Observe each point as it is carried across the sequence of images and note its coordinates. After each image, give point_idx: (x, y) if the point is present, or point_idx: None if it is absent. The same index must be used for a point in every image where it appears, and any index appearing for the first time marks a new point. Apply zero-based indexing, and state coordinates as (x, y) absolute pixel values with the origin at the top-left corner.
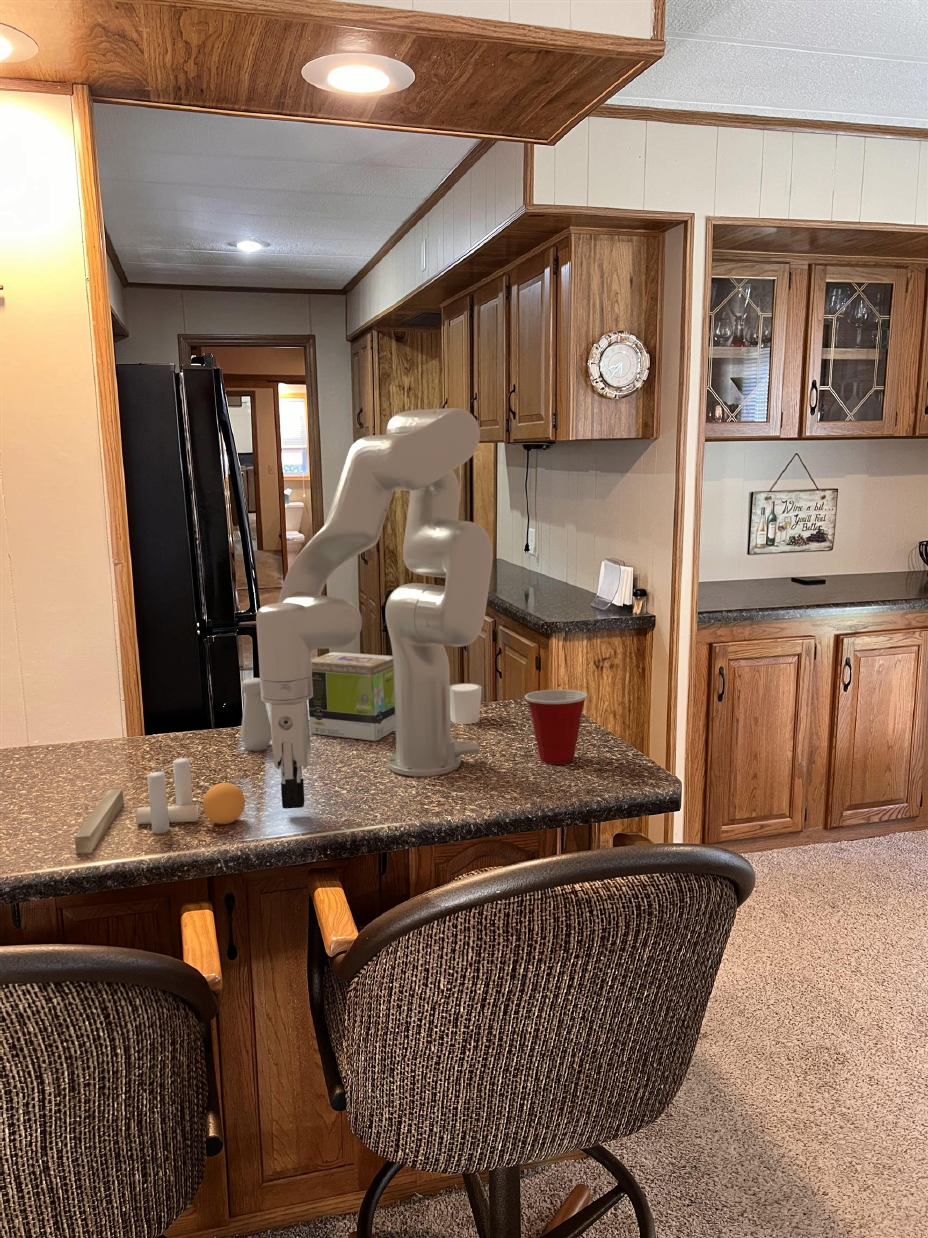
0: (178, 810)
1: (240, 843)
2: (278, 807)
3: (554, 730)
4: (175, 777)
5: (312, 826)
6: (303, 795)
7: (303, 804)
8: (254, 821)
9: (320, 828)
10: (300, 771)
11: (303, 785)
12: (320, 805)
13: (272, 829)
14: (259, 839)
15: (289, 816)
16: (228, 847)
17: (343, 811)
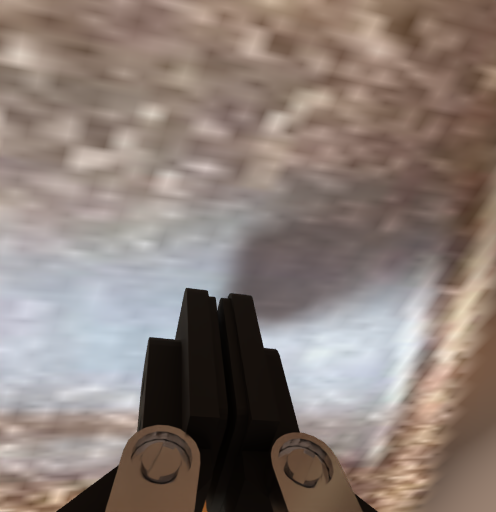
0: None
1: (396, 467)
2: (63, 360)
3: None
4: None
5: (386, 234)
6: (253, 338)
7: (251, 302)
8: None
9: (434, 200)
10: (195, 495)
11: (207, 374)
12: (86, 152)
13: (328, 385)
14: (398, 422)
15: None
16: (406, 491)
17: (248, 13)
